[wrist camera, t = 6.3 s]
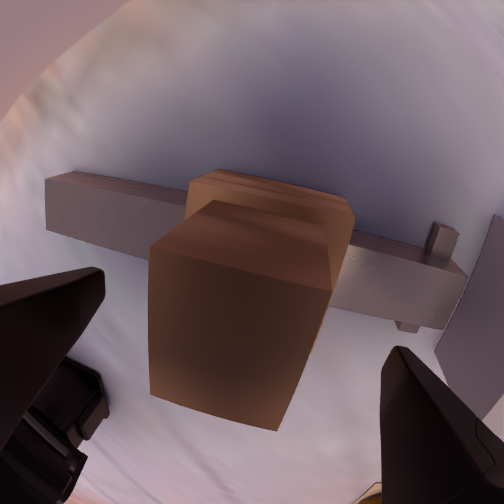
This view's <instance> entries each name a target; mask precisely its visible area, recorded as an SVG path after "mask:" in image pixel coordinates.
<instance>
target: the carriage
mask: <svg viewBox="0 0 504 504" xmlns="http://www.w3.org/2000/svg"><path fill="white" fill-rule="evenodd" d="M355 221H356V218H355V216H354V214H353V212H352V211H351V208H350V206H349V204H348V202H347V200H346V198H344V197H341V196H337V195H333V194H329V193H325V192H321V191H317V190H313V189H309V188H304V187H300V186H296V185H292V184H287V183H283V182H278V181H274V180H269V179H265V178H260V177H255V176H250V175H246V174H241V173H236V172H231V171H225V170H220V169H218V170H215V171H213V172H210V173H208V174H205V175H203V176H200V177H198V178H196V179H193V180H191V181H189V187H188V195H187V203H186V212H185V220H184V221H183V222H182V223H180V224H179V225H178V226H176V227H175V228H173V229H172V230H171V231H169V232H168V233H167V234H165V235H164V236H163V237H161V238H160V239H159V240H157V241H156V242H155V243H153V244H152V245H151V246H150V252H149V278H148V351H149V377H150V394H151V395H153V396H156V397H158V398H161V399H164V400H167V401H170V402H172V403H175V404H178V405H181V406H184V407H187V408H190V409H193V410H197V411H200V412H203V413H206V414H210V415H213V416H216V417H220V418H224V419H227V420H231V421H235V422H238V423H242V424H246V425H250V426H255V427H259V428H263V429H268V430H272V431H277V430H278V428H279V426H280V424H281V422H282V419H283V417H284V415H285V413H286V410H287V408H288V406H289V403H290V401H291V399H292V396H293V394H294V392H295V389H296V387H297V385H298V382H299V380H300V377H301V375H302V372H303V370H304V367H305V365H306V362H307V360H308V357H309V355H310V353H311V352H312V349H313V347H314V344H315V341H316V339H317V336H318V333H319V331H320V328H321V325H322V323H323V320H324V317H325V314H326V311H327V309H328V306H329V303H330V300H331V297H332V294H333V291H334V288H335V285H336V282H337V279H338V276H339V273H340V270H341V267H342V264H343V261H344V257H345V254H346V251H347V248H348V244H349V241H350V238H351V234H352V231H353V228H354V224H355Z"/></svg>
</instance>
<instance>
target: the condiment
mask: <svg viewBox="0 0 504 504" xmlns="http://www.w3.org/2000/svg"><path fill="white" fill-rule="evenodd" d="M381 491H382V483H375V484H374V485H373V487H372V488H370V489H369V490H368V492H366V493H365V494H364V495H363V496H362V497H360V498H359V499H358V500H356V501H355V502H354V503H353V504H381Z"/></svg>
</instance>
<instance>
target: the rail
mask: <svg viewBox="0 0 504 504" xmlns="http://www.w3.org/2000/svg"><path fill="white" fill-rule="evenodd" d="M187 195H188V192H187V191H182V190H177V189H172V188H167V187H162V186H156V185H151V184H145V183H140V182H134V181H129V180H123V179H117V178H111V177H105V176H99V175H93V174H87V173H81V172H74V171H72V172H68V173H64V174H61V175H57V176H53V177H50V178H46V179H45V212H46V230H49V231H52V232H56V233H59V234H62V235H65V236H68V237H72V238H75V239H78V240H82V241H85V242H88V243H91V244H95V245H98V246H102V247H105V248H108V249H112V250H115V251H119V252H122V253H125V254H129V255H132V256H136V257H139V258H143V259H147V260H149V252H150V246H151V245H152V244H153V243H155V242H156V241H157V240H159V239H160V238H161V237H163V236H164V235H165V234H167V233H168V232H169V231H171V230H172V229H173V228H175V227H176V226H178V225H179V224H180V223H182V222H183V221H184V220H185V212H186V203H187ZM458 235H459V233H458V232H457V231H456V230H454V229H453V228H450V227H447V226H444V225H441V224H438V223H434V226H433V229H432V232H431V235H430V238H429V241H428V243H427V246H426V249H422V248H418V247H415V246H412V245H408V244H404V243H401V242H397V241H394V240H390V239H387V238H383V237H379V236H376V235H372V234H368V233H364V232H361V231H357V230H353V231H352V234H351V238H350V241H349V244H348V248H347V251H346V254H345V257H344V261H343V264H342V267H341V270H340V273H339V276H338V279H337V282H336V285H335V288H334V291H333V294H332V297H331V300H330V303H329V306H331V307H335V308H340V309H344V310H349V311H353V312H358V313H362V314H367V315H371V316H376V317H381V318H385V319H390V320H395V321H396V322H395V323H396V326H397V328H398V330H400V331H405V332H410V333H417V331H418V329H419V327H420V326H424V327H429V328H434V329H439V330H443V329H444V327H445V325H446V323H447V321H448V319H449V317H450V315H451V313H452V311H453V309H454V307H455V305H456V303H457V301H458V299H459V297H460V294H461V292H462V290H463V288H464V285H465V283H466V281H467V279H468V276H467V275H466V274H465V273H464V272H463V271H462V269H461V268H460V267H459V266H458V265H457V264H456V263H455V262H454V261H453V260H452V259H451V258H450V257H451V255H452V252H453V249H454V247H455V244H456V241H457V238H458Z"/></svg>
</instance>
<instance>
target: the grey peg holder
mask: <svg viewBox="0 0 504 504" xmlns="http://www.w3.org/2000/svg"><path fill="white" fill-rule="evenodd" d="M434 352H435V354H436V357H437V359H438V361H439V364H440V366H441V369H442V371H443V374H444V376H445V379H446V381H447V384H448V386H449V388H450V389H451V390H452V391H453V392H454V393H455V394H456V395H457V396H458V397H459V398H460V399H461V400H462V401H463V402H464V403H465V404H466V405H467V406H468V407H469V408H470V409H471V410H472V411H473V412H474V413H475V415H476V417H479V419H480V420H481V421H482V422H483V423H484V424H485V425H486V426H487V427H488V428H489V429H490V430H491V431H492V432H493V433H494V434H495V435H496V436H500V435H504V218H501V217H499V216H497V215H495V214H494V217H493V220H492V223H491V226H490V229H489V232H488V235H487V238H486V241H485V244H484V246H483V249H482V252H481V254H480V257H479V259H478V262H477V264H476V267H475V269H474V272H473V274H472V276H471V279H470V281H469V283H468V286H467V288H466V290H465V292H464V295H463V297H462V299H461V301H460V303H459V305H458V307H457V309H456V311H455V313H454V315H453V317H452V319H451V321H450V323H449V325H448V327H447V329H446V331H445V333H444V334H443V336H442V338H441V340H440V342H439V344H438V345H437V347H436V349H435V351H434Z"/></svg>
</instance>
